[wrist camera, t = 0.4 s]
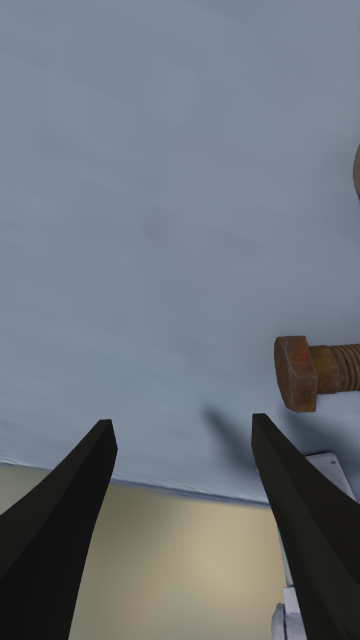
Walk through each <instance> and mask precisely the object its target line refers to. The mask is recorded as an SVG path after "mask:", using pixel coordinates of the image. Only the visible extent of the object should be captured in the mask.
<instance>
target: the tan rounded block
mask: <svg viewBox="0 0 360 640" xmlns="http://www.w3.org/2000/svg"><path fill="white" fill-rule="evenodd" d="M353 181H354V186H355V189H356V192H357V194H358V196H359V198H360V144H359V147H358V150H357V153H356V156H355V160H354V166H353Z"/></svg>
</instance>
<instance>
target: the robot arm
mask: <svg viewBox="0 0 360 640" xmlns="http://www.w3.org/2000/svg"><path fill="white" fill-rule="evenodd" d="M251 446H252V450H253V454H254V458H255V462H256V470H257V472H258V473H259V475H260V478H261V481H262V483H263V486H264V489H265V492H266V495H267V497H268V500H269V503H270V506H271V509H272V511H273V514H274V517H275V520H276V523H277V528H278V534H279V540H280V547H281V552H282V559H283V565H284V571H285V577H286V584H287V587H286V588H285V587H284V588H282V591H283V597H284V604H282V603H279V604H277V606H276V610H275V612H274V614H273V616H272V623H271V639H272V640H360V504H359V503H357V502H356V499H355V497H354V495H353V493H352V490H351V488H350V486H349V484H348V482H347V479H346V477H345V475H344V473H343V470H342V468H341V466H340V464H339V462H338V459H337V457H336V455H335V454H334V453H324V454H318V455H312V456H306V457H304V456H303V455H302V454H301V453H300V452H299V451H298V450H297V449H296V447H295V446H294V445H293V444H292V443H291V442H290V441H289V440H288V439H287V438H286V437H285V436H284V435H283V433H282V432H281V431H280V430H279V429H278V428H277V427H276V425H275V424H274V423H273V422H272V421H271V419H270V418H269V417H268V416H267V415H266V414H265V413H260V414H253V416H252V438H251ZM117 450H118V448H117V444H116V439H115V434H114V429H113V425H112V420H111V419H106V420H99V421H98V422H97V423H96V424H95V426H94V427H93V428H92V429H91V430H90V431H89V432H88V433H87V435H86V436H85V437H84V438H83V439H82V440H81V441H80V442H79V444H78V445H77V446H76V447H75V448H74V449H73V450H72V451H71V452H70V453H69V454H68V455H67V457H66V458H65V459H64V460H63V461H62V462H61V463H60V464H59V465H58V466H57V467H56V468H55V469H54V470H53V471H52V472H51V473H50V474H49V475H48V476H47V477H45V478H44V479H43V480H42V481H41V482H40V483H39V484H38V485H37V486H36V487H34V488H33V489H32V490H31V491H30V492H29V493H28V494H26V495H25V496H24V497H23V498H21V499H20V500H19V501H18V502H16V503H15V504H14V505H13V506H11V507H10V508H9V509H8V510H7V511H5V512H4V513H3V514H1V515H0V640H68V638H69V633H70V628H71V623H72V619H73V614H74V609H75V605H76V600H77V595H78V591H79V587H80V582H81V578H82V573H83V570H84V565H85V561H86V557H87V553H88V549H89V545H90V541H91V537H92V533H93V530H94V526H95V523H96V520H97V517H98V514H99V511H100V508H101V505H102V502H103V499H104V496H105V493H106V490H107V488H108V484H109V481H110V478H111V475H112V472H113V469H114V464H115V460H116V455H117Z"/></svg>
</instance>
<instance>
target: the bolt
mask: <svg viewBox="0 0 360 640" xmlns="http://www.w3.org/2000/svg"><path fill="white" fill-rule="evenodd" d="M274 360H275V369H276V376H277V383H278V386H279V389H280V393H281V396H282V399H283V401H284V403H285V406H286V407H287V408H289V409H290V410H292V411H295V412H297V413H299V412H315V411H316V399H317V394H334V393H336V392H343V391H360V344H354V345H353V344H350V345H339V346H337V345H336V346H325V345H320V346H308V344H307V341H306V337H305V336H286V337H277V338H276V341H275V345H274Z"/></svg>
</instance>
